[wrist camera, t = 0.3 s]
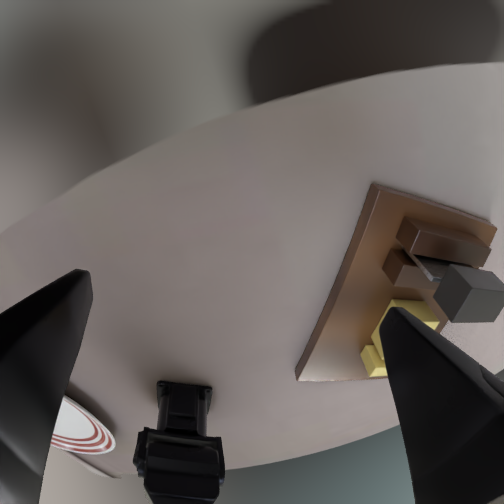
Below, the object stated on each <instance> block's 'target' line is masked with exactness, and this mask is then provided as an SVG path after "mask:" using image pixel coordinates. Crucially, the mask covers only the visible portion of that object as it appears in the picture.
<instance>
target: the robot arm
mask: <svg viewBox="0 0 504 504" xmlns="http://www.w3.org/2000/svg"><path fill="white" fill-rule="evenodd" d="M92 301H93V291H92V283H91V275H90V273H89V272H88V271H87V270H81V269H75V270H73V271H71V272H69V273H67V274H66V275H64V276H62V277H60V278H59V279H57V280H55V281H54V282H52V283H50V284H48V285H47V286H45V287H43V288H42V289H40V290H38V291H36V292H35V293H33V294H31V295H30V296H28V297H26V298H25V299H23V300H22V301H20V302H18V303H17V304H15V305H13V306H12V307H10V308H9V309H7V310H5V311H4V312H2V313H1V314H0V504H39V499H40V492H41V487H42V481H43V475H44V470H45V466H46V461H47V456H48V452H49V448H50V444H51V440H52V436H53V432H54V428H55V424H56V421H57V417H58V414H59V410H60V407H61V403H62V400H63V397H64V394H65V390H66V387H67V384H68V381H69V378H70V375H71V372H72V369H73V367H74V364H75V361H76V358H77V355H78V352H79V349H80V346H81V342H82V339H83V335H84V331H85V327H86V323H87V320H88V316H89V312H90V309H91V305H92ZM379 336H380V340H381V345H382V351H383V356H384V361H385V367H386V371H387V375H388V379H389V383H390V387H391V390H392V394H393V398H394V402H395V406H396V409H397V414H398V418H399V422H400V426H401V430H402V434H403V439H404V443H405V448H406V453H407V457H408V463H409V468H410V473H411V479H412V481H413V482H412V486H413V492H414V498H415V504H504V382H503V381H502V380H500V379H499V378H498V377H496V376H495V375H494V374H492V373H491V372H490V371H488V370H487V369H486V368H484V367H483V366H482V365H479V363H478V362H476V361H475V360H474V359H473V358H471V357H470V356H469V355H467V354H466V353H465V352H463V351H462V350H461V349H459V348H458V347H457V346H455V345H454V344H453V343H451V342H450V341H449V340H447V339H446V338H444V337H443V336H442V335H440V334H439V333H438V332H436V331H435V330H434V329H432V328H431V327H429V326H428V325H427V324H425V323H424V322H422V321H421V320H420V319H418V318H417V317H416V316H414V315H413V314H411V313H410V312H409V311H407V310H406V309H404V308H403V307H394V306H393V307H391V308H390V309H389V310H388V311H387V313H386V315H385V317H384V319H383V320H382V322H381V324H380V326H379ZM211 396H212V387H209V386H199V385H190V384H181V383H173V382H166V381H158V382H157V398H158V408H159V415H158V423H157V430H156V429H150V428H149V427H144V431H141V432H138V439H137V445H136V449H135V453H134V457H133V464H134V465H135V466H136V468H137V471H138V477H140V478H144V490H145V496H146V498H147V500H148V502H149V503H150V504H213V503H214V502H215V500H216V499H217V497H218V496H219V487H222V486H223V483H224V477H225V463H224V456H223V448H222V440H221V437H207V436H206V427H207V414H208V411H209V406H210V401H211Z"/></svg>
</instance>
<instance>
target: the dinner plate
mask: <svg viewBox="0 0 504 504" xmlns="http://www.w3.org/2000/svg"><path fill="white" fill-rule="evenodd" d="M50 445H52V446H55V447H58V448H61V449H64V450H68V451H72V452H77V453H83V454H104V453H108V452H110V451H112V450H113V449H114V448H115V445H116V442H115V439H114V437H113V435H112V434H111V432H110V431H109V430H108V429H107V428H106V427H105V426H104V425H103V424H102V423H101V422H100V421H99V420H98V419H97V418H96V417H94V416H93V415H92V414H91V413H90V412H88V411H87V410H86V409H85V408H83V407H82V406H80V405H79V404H78V403H76V402H75V401H73V400H72V399H70V398H69V397H67V396H66V395H64V397H63V400H62V403H61V407H60V410H59V414H58V417H57V421H56V424H55V428H54V432H53V436H52V440H51V444H50Z"/></svg>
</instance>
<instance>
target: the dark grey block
mask: <svg viewBox="0 0 504 504" xmlns="http://www.w3.org/2000/svg"><path fill="white" fill-rule="evenodd" d="M401 247H402V248H403V250H404V251H405V252H406V253H407V254H408V255H409V256H410V258H411V259H412V260H413V261H414V262H415V263H416V264H417V266H418V267H419V268H420V269H421V270H422V272H423V273H424V274H425V275H426V276H427V278H428V279H429V280H430V281H431V282H439V283H440V284H439V286H438V288H437V290H436V291H435V293H434V295H433V298H434V300H435V301H436V302H437V304H438V305H439V306H440V308H441V309H442V310H443V312H444V313H445V315H446V316H447V317H448V319H449V320H450V321H451V323H476V322H494V321H495V319H496V318H497V316H498V315H499V313H500V312H501V310H502V309H503V307H504V283H503V282H502V281H501V280H500V279H499V278H498V277H497V276H496V275H495V274H494V273H493V272H490V271H485V270H480V269H475V268H474V267H473V266H472V265H468V264H463V263H458V262H453V261H448V260H443V259H438V258H432V257H427V256H422V255H416V254H411V253H409V252H408V251H407V250H406V249H405V248H404V247H403V246H401Z"/></svg>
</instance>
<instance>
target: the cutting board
mask: <svg viewBox="0 0 504 504" xmlns="http://www.w3.org/2000/svg"><path fill="white" fill-rule="evenodd" d="M496 231H497V228H496V227H495V226H494V225H493V224H491V223H490V222H488V221H485V220H483V219H480V218H477V217H475V216H472V215H469V214H467V213H464V212H461V211H458V210H456V209H453V208H450V207H447V206H444V205H441V204H438V203H435V202H432V201H429V200H426V199H423V198H420V197H416V196H413V195H410V194H407V193H403V192H400V191H397V190H393V189H390V188H386V187H383V186H379V185H376V184H371V187H370V190H369V193H368V195H367V198H366V201H365V204H364V207H363V210H362V213H361V216H360V218H359V221H358V224H357V227H356V229H355V232H354V235H353V238H352V240H351V243H350V245H349V248H348V251H347V253H346V256H345V258H344V261H343V263H342V266H341V268H340V271H339V273H338V276H337V278H336V281H335V283H334V286H333V288H332V290H331V293H330V295H329V298H328V300H327V302H326V305H325V307H324V309H323V311H322V314H321V316H320V318H319V320H318V323H317V325H316V327H315V329H314V332H313V334H312V336H311V338H310V340H309V342H308V345H307V347H306V349H305V351H304V353H303V355H302V357H301V359H300V361H299V363H298V365H297V368H296V370H295V375H296V380H297V381H349V380H368V379H383V378H388V376H375V377H369V375H368V372H367V370H366V367H365V365H364V362H363V360H362V358H361V355H360V354H361V352H362V351H363V349H364V347H365V346H366V345H374V342H373V340H372V338H371V336H372V334H373V332H374V330H375V329H376V327H377V325H378V323H379V322H380V320H381V318H382V316H383V315H384V313H385V311H386V309H387V307H388V305H389V304H390V302H391V300H392V299H400V300H413V301H425V302H426V303H427V305H428V306H429V307H430V309H431V310H432V312H433V313H434V314H435V316H436V317H437V319H438V320H439V324H438V325H437V327H436V329H435V331H436V332H438V333H439V334H440V332H441V331H442V329H443V328H444V326H445V325H446V323H447V322H448V320H449V319H448V317H447V316H446V315H445V313H444V312H443V310H442V309H441V308H440V306H439V305H438V304H437V302H436V301H435V300H434V298H433V295H434V293H435V291H436V290H437V288H438V286H439V284H440V283H439V282H431V281H430V280H429V279H428V278H427V276H426V275H425V274H424V273H423V272H422V270H421V269H420V268H419V267H418V266H417V264H416V263H415V262H414V261H413V260H412V259H411V258H410V256H409V255H408V254H407V253H406V252H405V251H404V250H403V248H402V247H401V246H403V247H404V248H405V249H406V250H407V251H408V252H409V253H411V254H416V255H422V256H427V257H432V258H438V259H443V260H448V261H453V262H458V263H463V264H468V265H472V266H473V267H474V268H475V269H478V268H479V267H483V266H484V264H485V262H486V260H487V258H488V256H489V254H490V252H491V248H490V247H489V246H490V244H491V242H492V240H493V238H494V235H495V233H496Z"/></svg>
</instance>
